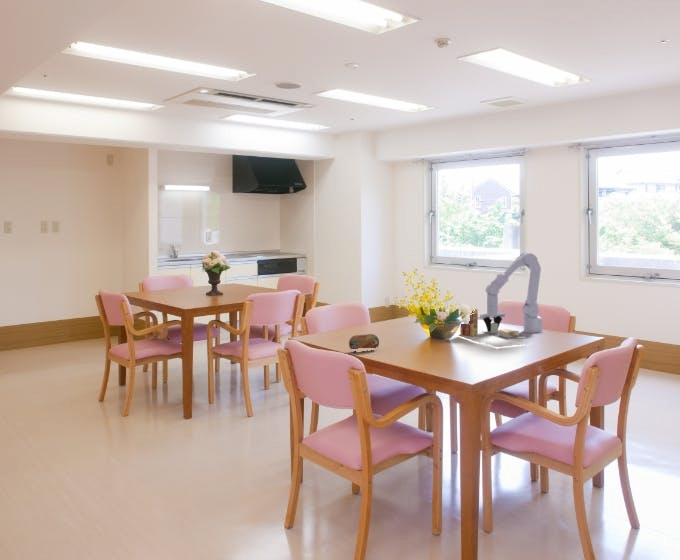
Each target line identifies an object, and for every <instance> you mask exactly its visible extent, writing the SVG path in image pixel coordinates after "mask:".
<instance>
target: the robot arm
mask: <svg viewBox="0 0 680 560" xmlns="http://www.w3.org/2000/svg"><path fill="white" fill-rule="evenodd" d="M525 266H526V267H527V268H528V269H529V271H530V273H529V279H528V285H527V287H528V288H527V296H526V300H525V301H524V305H523V306H522V309H521V310H522V313H523V332H524V333H525V332H526V333H540V334H544V332H543V318H542V317H541V316H539V313H540V310H539V304H538V303H539V302H538V293H539V286H540V277H541V271H542V269H541V268H542V267H541V264H540V262H539V260H538V257H537V256H536V255H535V254H534V253H532V252H525V251H524V252H522V253H520V255H518V256H517V257H516V258H515V260H514V261H513V262H512V263H511V265H509V266H508V268H507V269H506V270H505V271H504V272H503V273H499V274H497V275H496V277H495V279H493V281H490V284H488V285H487V286H486V288H485V292H486V313H485V314H484V313H483V314H479V319H481V320H483V322H484V324H485V326H486V330H487V331H490V330H491V323H492V320H493V322H494V323H498V328H499V327H500V324H501V322H502V320H503V318H506V313H505V312H499V301H498V300H499V298H498V297H499V296H498V294H499V293H500V290H501V289H502V288H503V286H505V284H506V283H507V282H508V281H509V278H510V276H511V275H512V274H513V273H515V271H517V269H519V268H522V267H525ZM492 318H493V319H492Z"/></svg>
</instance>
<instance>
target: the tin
mask: <svg viewBox="0 0 680 560" xmlns="http://www.w3.org/2000/svg"><path fill="white" fill-rule="evenodd" d="M379 345H380V340H379V338H378V336H377V335H376V334H373V333H367V334H366V333H365V334H356V335H353V336H351V337H350V339H349V341H348V347H349V349H350V350H351V349H358V348H376V347H377V349H378V347H379Z"/></svg>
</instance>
